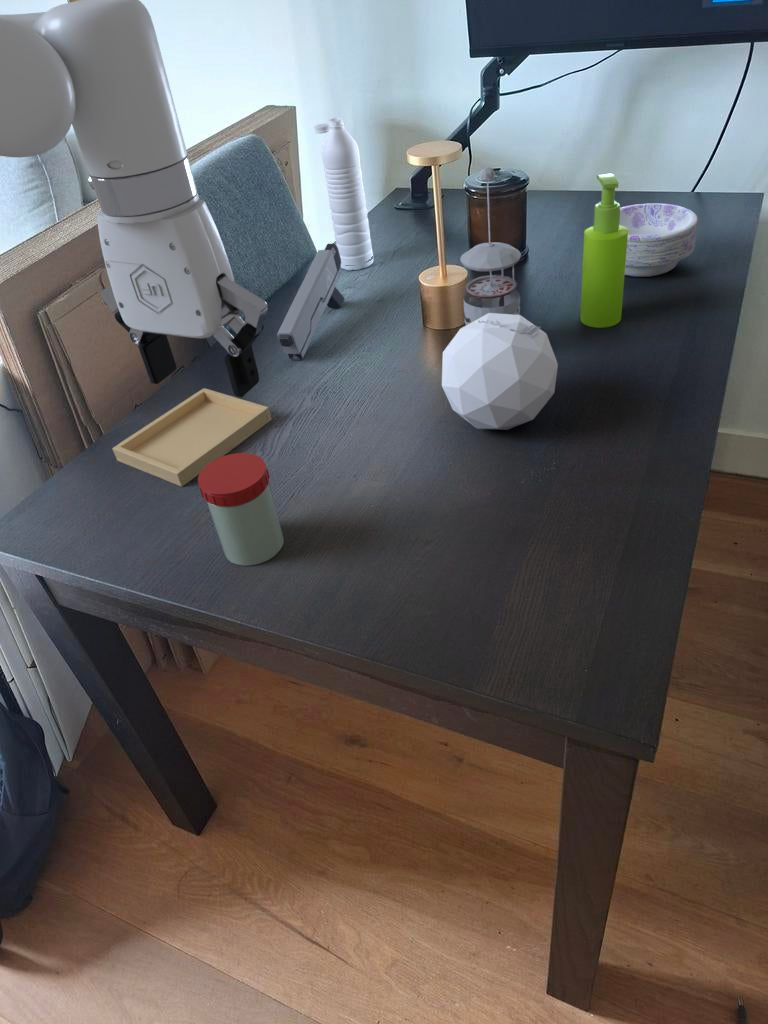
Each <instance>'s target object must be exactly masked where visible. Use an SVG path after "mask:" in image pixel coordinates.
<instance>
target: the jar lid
mask: <svg viewBox="0 0 768 1024" xmlns="http://www.w3.org/2000/svg"><path fill="white" fill-rule="evenodd" d="M197 484H198V487H199V491H200V494H201V497H202V498H203V499H204V500H205V501H207V502H209V503H211V504H213V505H217V506H235V505H240V504H243V503H246V502H248V501H251V500H252V499H254V498H256V497H257V496H259V495H260V494H261V493H262V492H263V491H264V490H265V489H266V487H267V486H268V484H269V485H270V473H269V469H268V468H267V464H266V462H265V460H264V459H263V458H262V457H260V456H259V455H257V454H253V453H249V452H237V453H231V454H225V455H224V456H223V457H220V458H218V459H216V460H214V461H212V462H211V463H209V464H208V465H206V466H205V467H204V468H203V469H202V471H201V472H200V474H198V476H197ZM207 502H206V503H207Z"/></svg>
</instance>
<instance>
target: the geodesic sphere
mask: <svg viewBox="0 0 768 1024" xmlns="http://www.w3.org/2000/svg"><path fill="white" fill-rule="evenodd" d="M541 328H542V326H539V325H535V324H534V323H532V322H531V321H529V320H528V319H527V318H525V317H524V316H523V315H521V314H520V315H511V314H498V313H488V314H486V315H484V316H482V317H481V318H479V319H477V320H475V321H473V322H472V323H470V324H468V325H466V326H465V325H464V326H462V327H461V328H459V330H458V331H457V333H456V334H455V335H454V337H452V339H451V340H450V342H449V343H448V344H447V346H446V347H445V349H444V350H443V351H442V364H441V366H442V367H441V387H442V389H443V392H444V394H445V396H446V398H447V400H448V403H449V405H450V407H451V409H452V411H453V412H455V413H456V414H457V415H458V416H460V417H461V418H462V419H464V420H465V421H466V422H468V424H470V425H471V426H473V427H474V428H475V429H478V430H502V431H508V430H511V429H514V428H516V427H518V426H520V425H523V424H526V423H528V422H531V421H533V420H535V418H537V415H538V414H539V413H540V412H541V410H542V409H543V408H544V407H545V405H546V404H547V403H548V402H549V401H550V399H551V398H552V396H553V395H555V391H556V382H557V375H558V368H559V363H558V361H557V358H556V355H555V352H554V350H553V347H552V345H551V341H550V339H549V336H548V334H547V333H546V332H545V331H543V330H542V329H541Z"/></svg>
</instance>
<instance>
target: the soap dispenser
mask: <svg viewBox="0 0 768 1024" xmlns="http://www.w3.org/2000/svg"><path fill="white" fill-rule="evenodd" d="M596 180H598V181H599V183H600V185H601V201H599V202H598V203H596V204H595V205H594V214H593V225H592V226H590V227H588V228H586V229H585V230H584V232H583V249H582V251H583V252H582V273H581V292H580V293H581V296H580V315H579V316H580V317H579V318H580V322H581V323H582V324H583V325H585V326H587V327H589V328H597V329H605V328H610V327H614V326H616V325H618V324H619V323H621V320H622V314H623V313H622V312H623V300H624V289H625V288H624V287H625V276H626V275H625V264H626V251H627V239H628V229H627V228H626V227H624V226H621V225H619V220H620V208H621V203H620V202H617V201H616V200H615V198H616V197H615V196H616V189H619V182H618V181H619V180H618V179H617V178H616V176H615V175H614V174H613V173H606V174H597V175H596Z"/></svg>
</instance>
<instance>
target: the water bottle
mask: <svg viewBox="0 0 768 1024" xmlns="http://www.w3.org/2000/svg"><path fill="white" fill-rule="evenodd" d="M343 120H344V119H343V118H342V117H334V118H331V119H328V123H320V124H319V123H318V124H316V125H314V134H318V135H319V134H326V133H327V134H326V137H325V140H324V141H323V145H322V147H321V160H322V164H323V171H324V176H325V182H326V187H327V188H326V189H327V195H328V202H329V203H328V204H329V208H330V210H331V211H330V214H331V220H332V227H333V232H334V239H335V245H336V246H337V247H338V250H339V254H340V258H341V266H340V269H342V270H345V271H359V270H363V269H367V268H369V267H370V266H371V265H372V264H373V263H374V258H373V259H372V260H371V261H369V262H367V263H365V264H361V263H364V262H366V261H368V260H369V259H371V257H372V256H373V257H374V252H373V248H372V247H373V246H372V245H373V244H372V238H371V230H370V223H369V222H370V221H369V217H368V208H367V206H366V205H367V201H366V194H365V187H364V179H363V172H362V164H361V156H360V147H359V146H358V143H357V142H356V140H355V139H354V138H353V136H352V135H351V134H350V133H349V131H348V130H347V129H346V127H345V123H344V121H343ZM358 264H361V265H358ZM345 265H356V266H345Z"/></svg>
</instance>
